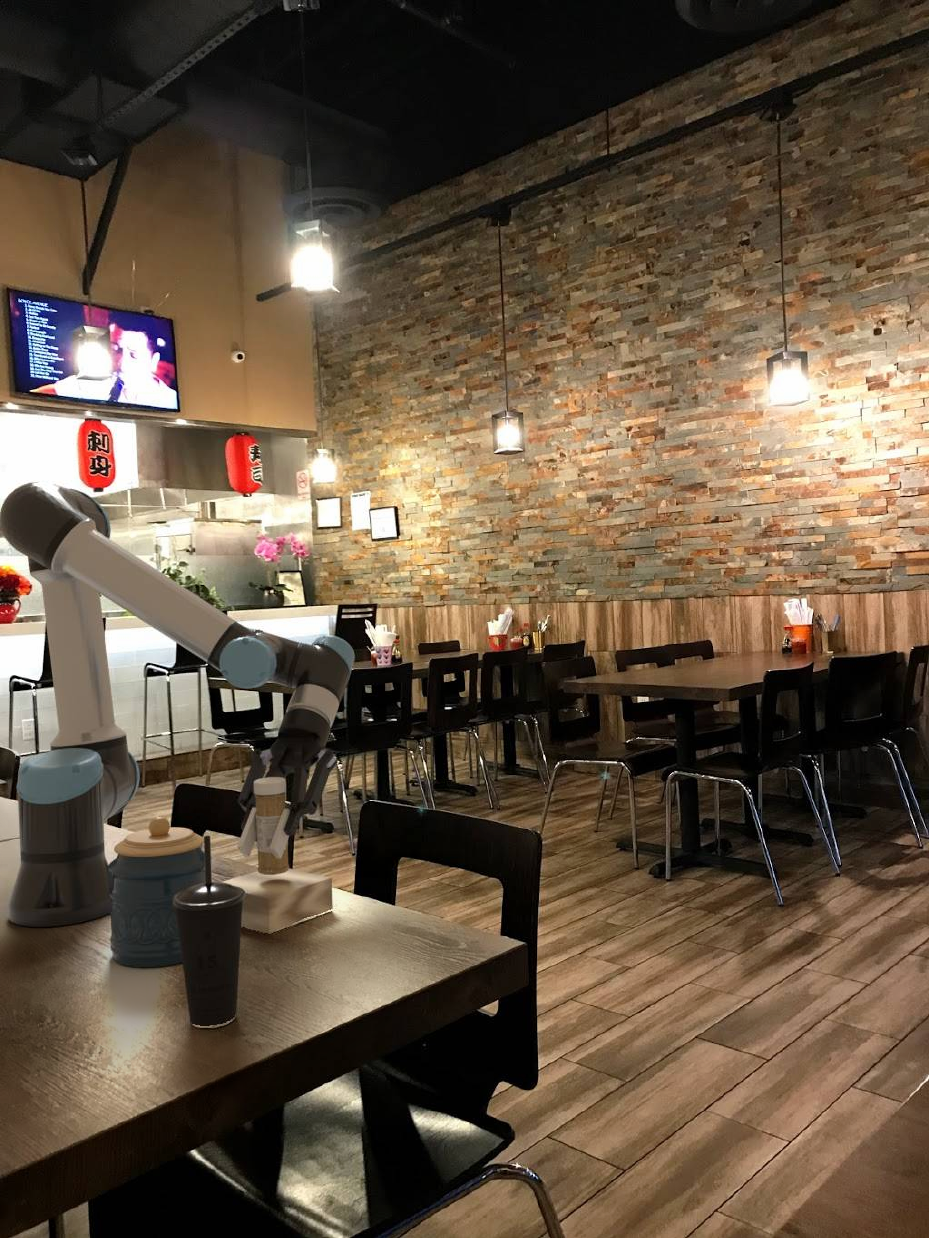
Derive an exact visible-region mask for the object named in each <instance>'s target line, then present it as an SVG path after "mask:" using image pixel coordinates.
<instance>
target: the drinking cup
mask: <svg viewBox="0 0 929 1238" xmlns="http://www.w3.org/2000/svg"><path fill="white" fill-rule="evenodd" d="M203 838H204V844H203V846H204V847H203V850H204V855H205V882H204V883H200V884H196V885H193V886H191V887H189V888H187V889H185V890H184V891H182V892H179V893H178V894H176V895H175V896H174V897H173V899H172V903H173V905H174V906H175V907H176V915H177V923H178V931H179V938H180V946H181V954H182V967H183V975H184V984H185V991H186V999H187V1006H188V1014H189V1016H188V1017H189V1023H190V1022H191V1023H192V1024H195V1025H200V1026H210V1025H217V1024H223V1023H226V1022H227V1021H230V1020H231V1019H233V1018H234V1017H235V1015H236V1016H237V1009H238V1008H237V1007H238V1006H237V1005H238V991H239V989H238V988H239V972H240V971H239V970H240V954H241V953H240V952H241V936H242V935H241V933H242V927H241V920H242V902H243V899H244V898H245V891H244V890H243V889H242V888H240V887H237V886H233V885H231V884H228V883H223V881H213V875H212V859H211V857H212V849H211V848H212V847H211V845H212V844H211V842H212V841H211V836H210V835H204V836H203ZM191 1023H190V1024H191Z"/></svg>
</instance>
